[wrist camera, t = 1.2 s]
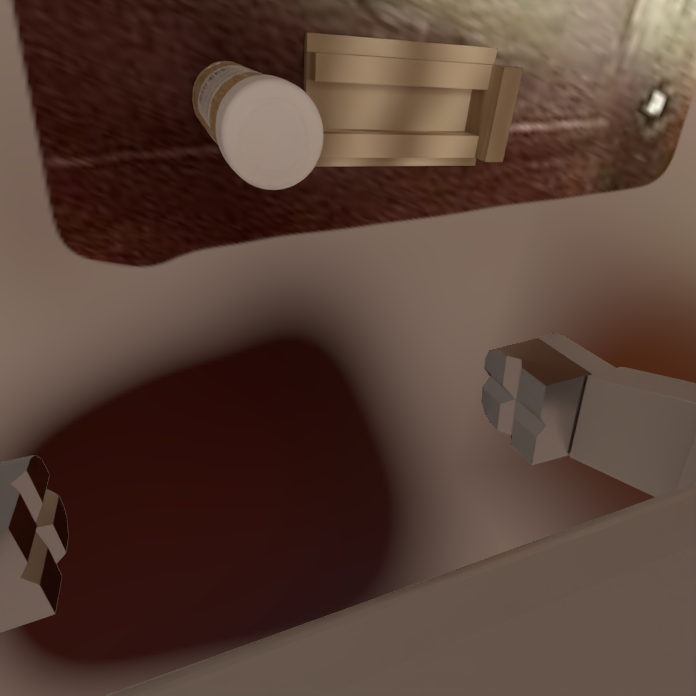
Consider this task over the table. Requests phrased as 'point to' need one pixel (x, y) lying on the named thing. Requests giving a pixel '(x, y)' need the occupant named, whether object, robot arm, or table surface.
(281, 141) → the sprinkles bottle
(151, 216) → the table surface
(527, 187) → the table surface
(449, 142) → the u rest
